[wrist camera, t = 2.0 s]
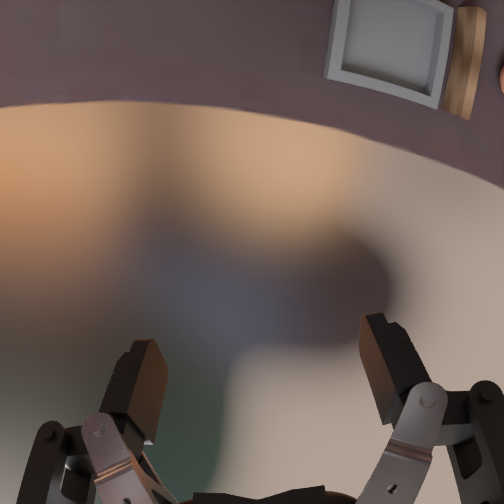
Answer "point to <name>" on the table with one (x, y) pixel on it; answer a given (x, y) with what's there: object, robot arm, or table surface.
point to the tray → (390, 46)
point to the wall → (465, 61)
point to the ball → (502, 79)
